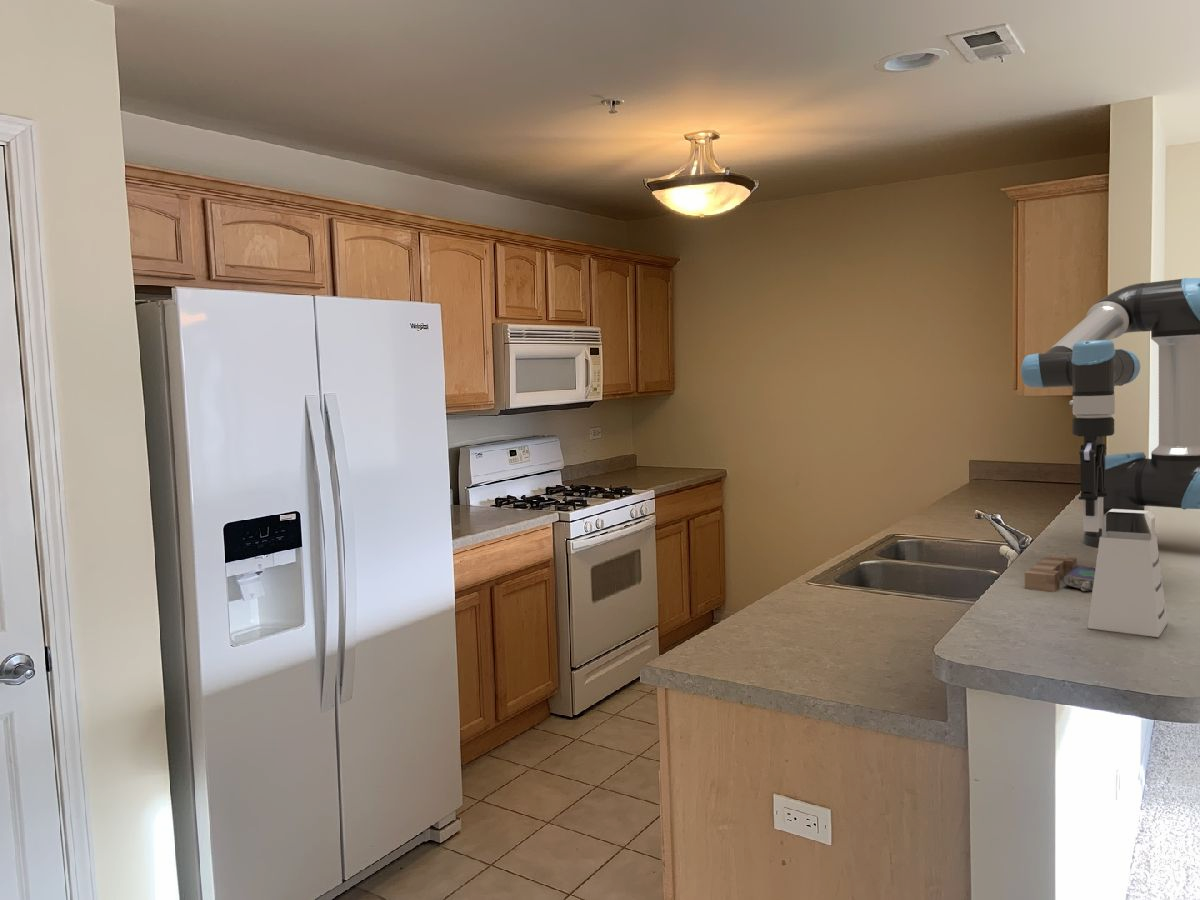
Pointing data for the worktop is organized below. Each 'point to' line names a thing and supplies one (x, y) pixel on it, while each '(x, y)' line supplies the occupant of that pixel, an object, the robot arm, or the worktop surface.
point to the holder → (1049, 573)
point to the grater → (1128, 583)
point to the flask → (1080, 578)
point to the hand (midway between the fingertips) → (1093, 529)
